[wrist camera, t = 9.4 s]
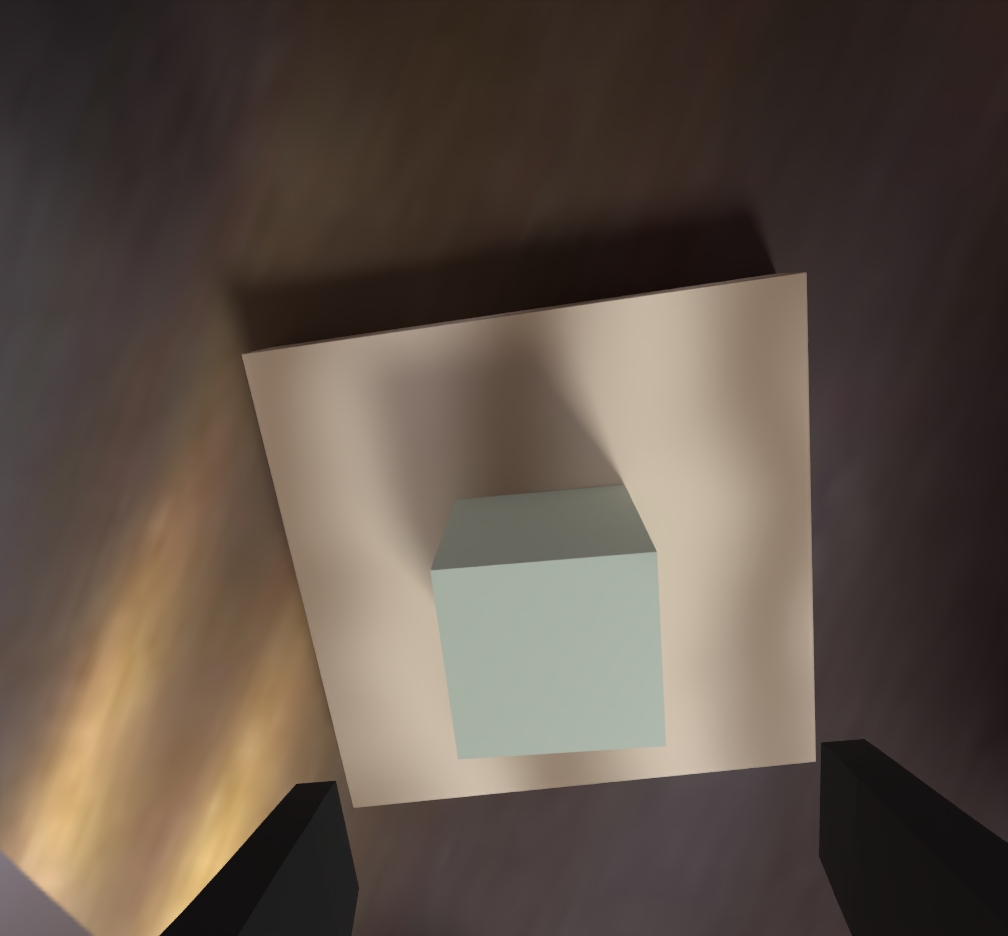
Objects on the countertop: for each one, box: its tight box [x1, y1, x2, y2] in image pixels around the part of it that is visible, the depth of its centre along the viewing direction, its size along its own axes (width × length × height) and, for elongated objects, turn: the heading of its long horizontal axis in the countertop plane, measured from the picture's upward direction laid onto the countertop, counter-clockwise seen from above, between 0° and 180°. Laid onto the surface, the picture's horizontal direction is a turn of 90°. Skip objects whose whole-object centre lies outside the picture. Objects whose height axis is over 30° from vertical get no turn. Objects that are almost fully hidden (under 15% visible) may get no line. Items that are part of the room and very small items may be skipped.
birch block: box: [242, 273, 816, 808], centre depth 19 cm, size 14×14×2 cm
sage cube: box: [430, 484, 666, 759], centre depth 16 cm, size 4×4×4 cm
